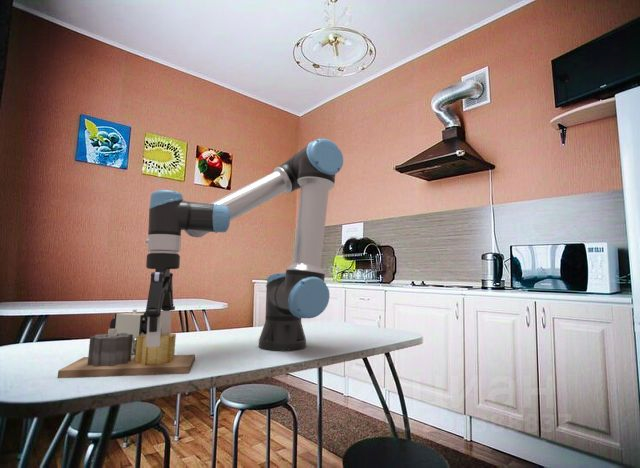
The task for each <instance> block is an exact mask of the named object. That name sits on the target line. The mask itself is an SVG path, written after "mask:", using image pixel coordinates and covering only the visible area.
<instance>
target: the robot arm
mask: <svg viewBox="0 0 640 468" xmlns="http://www.w3.org/2000/svg"><path fill="white" fill-rule="evenodd" d="M343 165H344V156H343V152H342V151H341V148H340V149H339V147H338V145H337V144H336V143H335V142H334V141H332V140H331V139H327V138H317V139H315V140H312V141H310V142H309V143H308V145H306V146H304V147H303V148H302V149H300V150H299V151H297V152H296V153H295V154H294V155H292V156H291V157H290V158H289V159H288V160H286V161H285V162H283V163H282V164H280V165H278V166H276V167H275V168H274V169H273V172H271V173H269V174H267V175H265V176H263V177H261V178H259V179H256V180H254V181H252V182H250V183H248V184H247V185H245V186H242V187H240V188H239V189H236V190H234V191H232V192H231V193H229V194H226V195H223V196H222V197H220V198H219V199H216V200H214V201H212V202H210V203H209V202H208V203H207V202H195V201H187V200H184V197H183V196H184V195H183V194H182V193H181V192H179V191H175V190H170V189H159V190H154V191H153V192H152V193H151V194H150V199H149V200H150V201H149V209H148V229H147V230H148V231H147V232H148V235H147V238H146V239H145V244H147V249H146V250H147V251H148V252H149V253H147V254H146V260H145V261H146V263H145V265H146V269H147V270H148V269H149V270H155V272H153V271H152V272H151V274H150V284H149V289H148V295H147V301H146V307H145V308H146V309H145V312H143V313H144V317H148V320H147V337H146V347H159V346H160V333H161V328H162V333H169V334H172V315H173V314H172V312H173V311H175V310H176V306H175V304H174V291H173V289H174V288H173V277H174V275H173V272H171V271H170V270H179V269H180V262H181V256H180V254H179V253H180V252H181V247H182V244H181V243H182V231H184V233H186V234H187V235H188V236H189V237H192V238H202V237H203V236H205V235H207V234H208V233H209V234H210V233H215V234H217V233H226V232H227V231H228V230H229V227H230V223H231V221H233V220H235V219H236V218H239V217H240V216H242V215H244V214H246V213H248V212H250V211H252V210H254V209H255V208H258V207H259V206H261V205H263V204H264V203H266V202H269V201H271V200H273V199H274V198H277V197H278V196H280V195H282V194H286V195H287V194H290V193H293V192H294V191H297V190H299V189H300V194H299V195H300V198H299V204H298V213H297V220H296V230H295V236H294V237H295V238H294V245H293V246H294V247H293V255H292V262H291V264H290V266H288V267H287V268H286V270H285V272H280V273H273V274H270V275H268V277H267V280H266V285H265V288H266V289H265V291H266V293H265V321H264V325H263V328H262V330H261V333H260V335H259V338H258V347H259V348H260V349H263V350H266V351H267V350H268V351H280V352H281V351H298V350H302V349H303V350H304V349H305V348H306V347H307V338H306V334H305V331H304V328H303V324H302V319H305V320H306V319H314V318H316V317H318V316H320V315H321V314H322V313H324V311H326V308H327V307H328V304H329V301H330V289H329V286H327V283H326V282H325V275H326V274H325V273H326V272H325V271H324V270H323V268H322V266H321V265H322V255H323V247H324V238H325V231H326V230H325V229H326V219H327V211H328V210H327V209H328V203H329V202H328V201H329V191H331V190H332V189H333V188H335V183H336V182H335V181H336V174H338V173H339V172H340V171H341V170H342V167H343Z"/></svg>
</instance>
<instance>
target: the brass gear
mask: <svg viewBox="0 0 640 468" xmlns="http://www.w3.org/2000/svg"><path fill="white" fill-rule="evenodd" d="M146 337H147V334H140V335H139V336H136V338H135V340H136V347H135V353H134V356H135V358H134V363H135V364H136V363H139V364H141V365H153V364H156V365H161V364H162V363H167V362H168V363H170V362H172V360H174V355H175V351H176V337H177V335H176V333H171V334H169V333H161V336H160V346H159V347H146Z"/></svg>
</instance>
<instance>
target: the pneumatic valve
mask: <svg viewBox="0 0 640 468" xmlns="http://www.w3.org/2000/svg"><path fill="white" fill-rule="evenodd" d="M144 313H145V312H138V311H137V309H133V310H132V312H119V313H118V312H117V313H115V314H114V317H112V319H110V323H109V329H117V333H127V334H133V340H132V352H131V356H134V355H135V347H136V336H139V335H140V334H147V320H148V317H144Z"/></svg>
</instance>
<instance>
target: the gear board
mask: <svg viewBox="0 0 640 468" xmlns="http://www.w3.org/2000/svg"><path fill="white" fill-rule="evenodd" d="M161 333H162V328H161ZM161 333H160V336H161ZM132 340H133V334H127V333H117V329H110V328H108V330H107V333H103V334H94V336H90V337H89V344H88V354H87V355H88V356H84V357H82V358H80V359H77V360H76V361H74V362H72V363H70V364H68V365H66V366H65V367H62V368H60V369H59V370H58V372H57V379H64V378H65V379H70V378H93V377H94V378H95V377H120V376H121V377H124V376H151V375H153V376H154V375H179V374H183V375H184V374H190V372H191V370H192V368H193V366H194V364H195V363H196V362H195V361H196V353H195V354H193V353H192V354H174V360H172V362H170V363H168V362H167V363H162V364H161V365H156V364H153V365H141V364H139V363H136V364H135V363H134V358H135V355H131V352H132Z"/></svg>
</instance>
